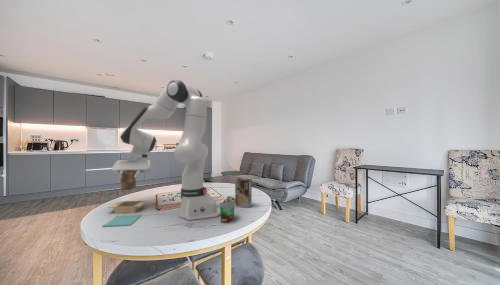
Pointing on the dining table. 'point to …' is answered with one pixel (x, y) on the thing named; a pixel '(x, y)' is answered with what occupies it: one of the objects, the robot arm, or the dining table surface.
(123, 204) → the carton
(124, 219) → the board
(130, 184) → the block
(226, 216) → the food container
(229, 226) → the dining table surface
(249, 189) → the coffee box
